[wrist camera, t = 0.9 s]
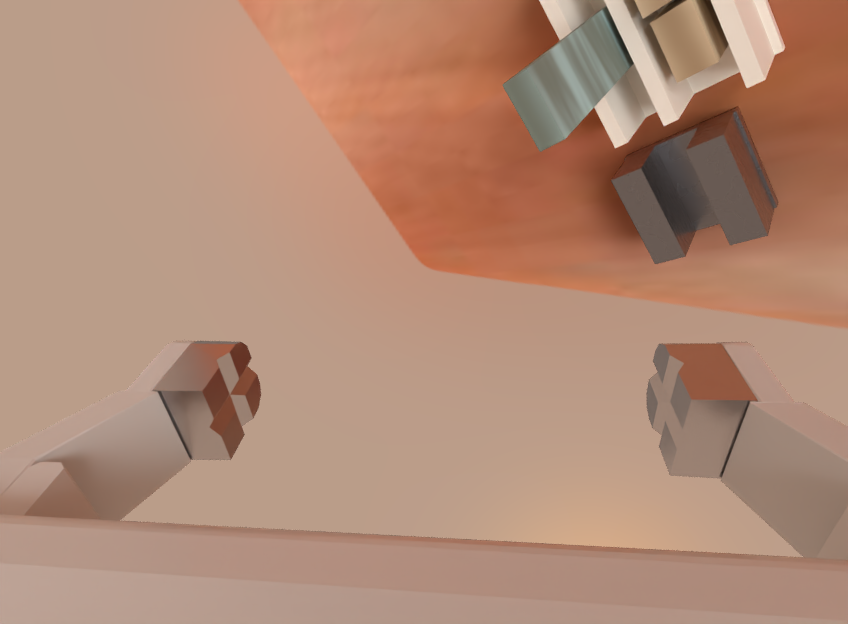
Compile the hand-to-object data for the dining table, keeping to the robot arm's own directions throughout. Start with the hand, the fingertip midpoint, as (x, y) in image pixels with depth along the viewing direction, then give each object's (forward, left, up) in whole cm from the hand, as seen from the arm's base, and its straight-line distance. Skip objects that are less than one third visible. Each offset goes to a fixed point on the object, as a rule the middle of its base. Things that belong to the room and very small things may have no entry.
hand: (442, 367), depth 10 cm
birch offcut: (+3, +4, -46) cm, 46 cm away
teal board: (+9, +4, -46) cm, 47 cm away
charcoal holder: (+2, +18, -47) cm, 50 cm away
